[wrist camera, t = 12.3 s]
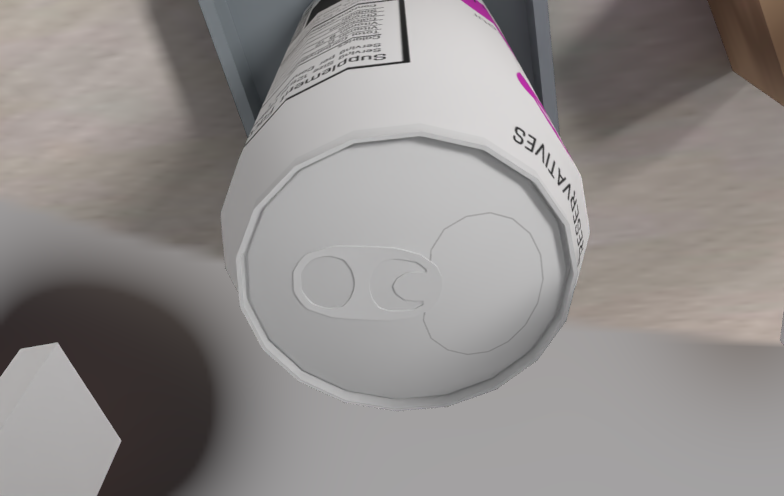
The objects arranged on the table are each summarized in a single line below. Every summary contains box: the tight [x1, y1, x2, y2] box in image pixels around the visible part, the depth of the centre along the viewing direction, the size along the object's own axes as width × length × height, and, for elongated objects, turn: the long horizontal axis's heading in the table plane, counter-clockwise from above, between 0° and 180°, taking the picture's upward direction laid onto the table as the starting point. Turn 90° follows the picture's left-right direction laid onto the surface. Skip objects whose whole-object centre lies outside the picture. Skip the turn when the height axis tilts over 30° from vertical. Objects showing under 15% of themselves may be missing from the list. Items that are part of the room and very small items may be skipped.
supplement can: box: [220, 0, 590, 411], centre depth 20 cm, size 8×8×15 cm
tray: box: [198, 0, 560, 137], centre depth 26 cm, size 12×12×2 cm
